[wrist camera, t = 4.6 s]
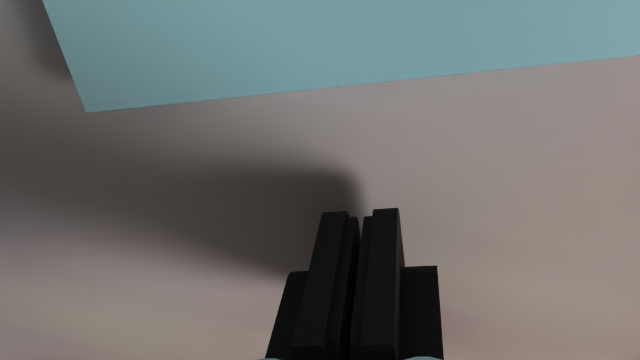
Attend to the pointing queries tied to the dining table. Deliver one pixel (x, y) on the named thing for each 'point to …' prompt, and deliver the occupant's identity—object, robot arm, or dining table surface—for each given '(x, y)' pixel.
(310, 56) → the tile
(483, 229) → the dining table surface
